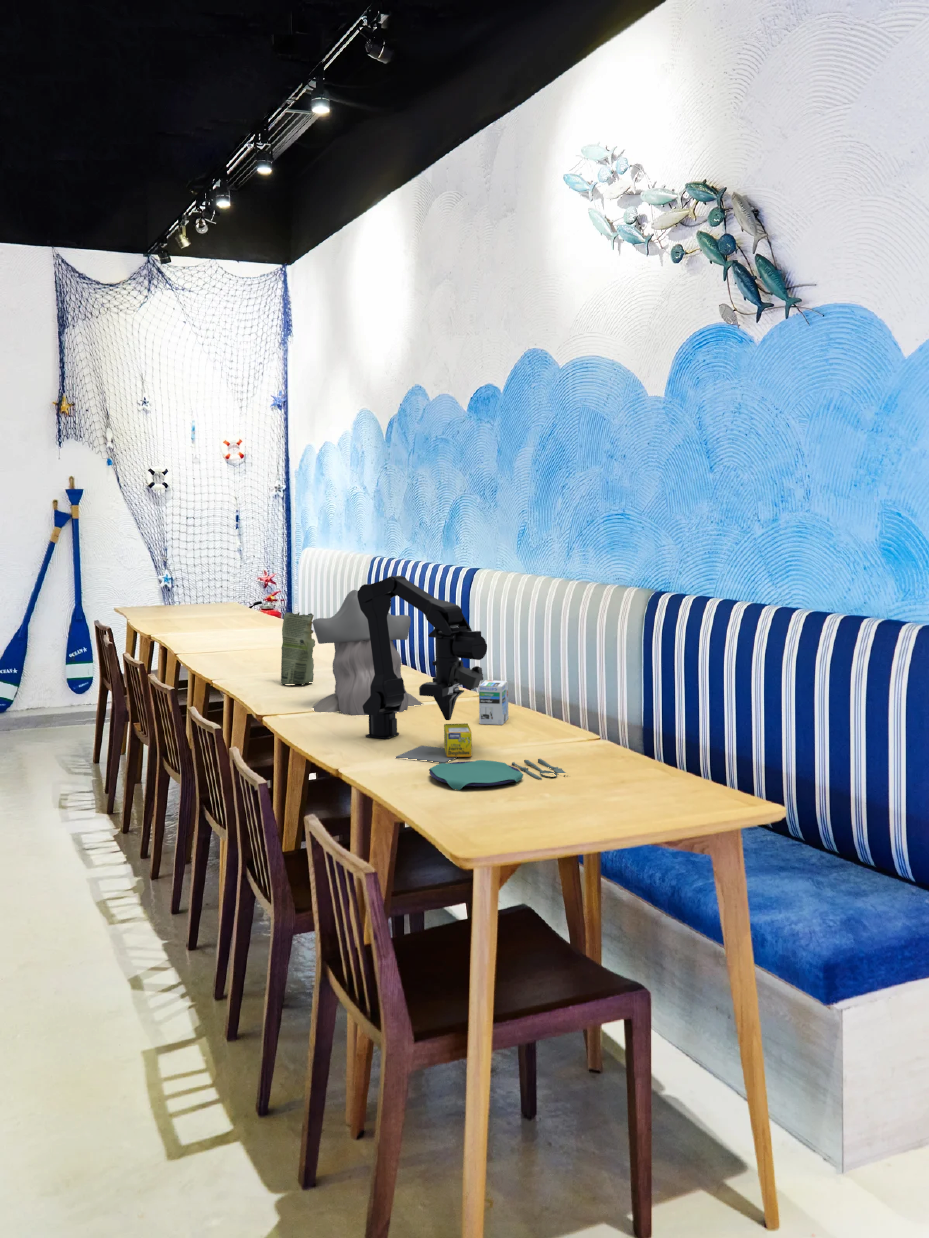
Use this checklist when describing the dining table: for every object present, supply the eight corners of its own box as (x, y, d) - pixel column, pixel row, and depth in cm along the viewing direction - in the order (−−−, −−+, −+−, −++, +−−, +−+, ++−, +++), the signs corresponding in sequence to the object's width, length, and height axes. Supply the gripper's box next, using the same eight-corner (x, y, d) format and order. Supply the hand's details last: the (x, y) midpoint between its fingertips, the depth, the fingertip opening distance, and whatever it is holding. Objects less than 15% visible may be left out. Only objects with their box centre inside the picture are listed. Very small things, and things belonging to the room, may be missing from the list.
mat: (395, 758, 241) (395, 756, 241) (421, 747, 253) (421, 745, 253) (444, 763, 236) (444, 762, 236) (469, 752, 247) (469, 750, 247)
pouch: (282, 682, 355) (280, 610, 352) (317, 681, 356) (315, 609, 354) (279, 687, 344) (278, 613, 341) (315, 686, 345) (314, 612, 343)
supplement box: (444, 747, 251) (446, 757, 240) (443, 723, 250) (446, 732, 239) (468, 747, 251) (472, 757, 240) (468, 723, 250) (471, 731, 240)
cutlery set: (416, 773, 228) (416, 763, 227) (539, 763, 239) (539, 753, 238) (448, 796, 209) (448, 785, 209) (579, 784, 220) (579, 773, 220)
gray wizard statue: (405, 693, 331) (404, 585, 327) (437, 712, 299) (436, 592, 295) (301, 700, 320) (298, 588, 316) (322, 720, 288) (320, 595, 284)
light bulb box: (502, 725, 279) (502, 686, 278) (478, 724, 280) (478, 685, 279) (509, 717, 289) (508, 680, 288) (485, 717, 291) (485, 679, 290)
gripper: (460, 663, 237) (460, 729, 239) (493, 653, 254) (493, 715, 256) (417, 660, 242) (418, 726, 244) (453, 651, 259) (453, 712, 260)
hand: (447, 719), depth 251 cm, fingers closed
